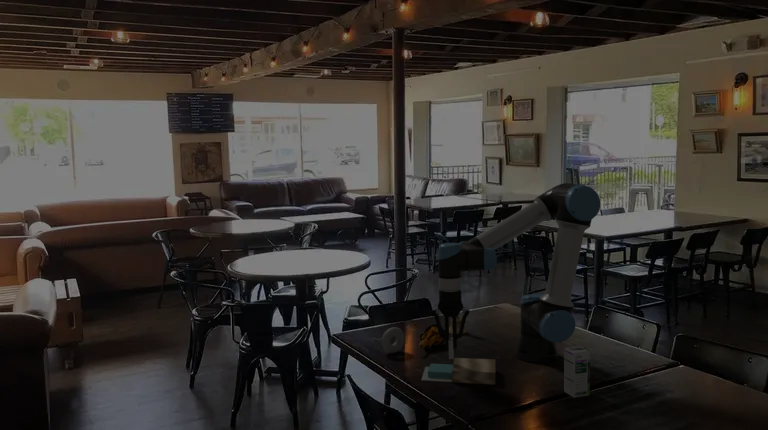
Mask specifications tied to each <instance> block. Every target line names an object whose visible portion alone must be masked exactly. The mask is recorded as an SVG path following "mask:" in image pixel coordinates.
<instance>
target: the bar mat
mask: <svg viewBox="0 0 768 430" xmlns="http://www.w3.org/2000/svg"><path fill="white" fill-rule="evenodd" d="M429 367H430V366H425V367H424V371H423V373H422V377H421V382H435V383H436V382H437V383H453V382H452V378H434V377H428V369H429Z"/></svg>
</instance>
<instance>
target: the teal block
mask: <svg viewBox="0 0 768 430" xmlns="http://www.w3.org/2000/svg"><path fill="white" fill-rule="evenodd" d="M428 367H429V369H428V377H434V378H452V368H453V364H450V363H449V364H446V363H430V364H429V366H428Z"/></svg>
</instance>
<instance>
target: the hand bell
mask: <svg viewBox="0 0 768 430" xmlns="http://www.w3.org/2000/svg"><path fill="white" fill-rule="evenodd" d="M461 322H462V318H460V317H459V315H458V316H457V334H459V330H460V326H461ZM466 333H467V330H466V329H465V328H464V329H463V334H462V335H464V334H466ZM449 335H453V322H452V318H451V320H450V324H449Z"/></svg>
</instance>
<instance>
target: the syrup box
mask: <svg viewBox="0 0 768 430" xmlns="http://www.w3.org/2000/svg"><path fill="white" fill-rule="evenodd" d="M563 365H564V366H563V369H564V370H563V373H564V374H563V375H564V376H563V382H564V383H563V384H564V385H563V388H564V389H563V390H564V393H566V394H567V395H569V396H570V397H572V398H574V399H575V398H582V397H589V396H591V395H590V394H591V350H590V349H588V348H586V346H585V347H584V346H582V345H578V346H567V347H564V348H563Z"/></svg>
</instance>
